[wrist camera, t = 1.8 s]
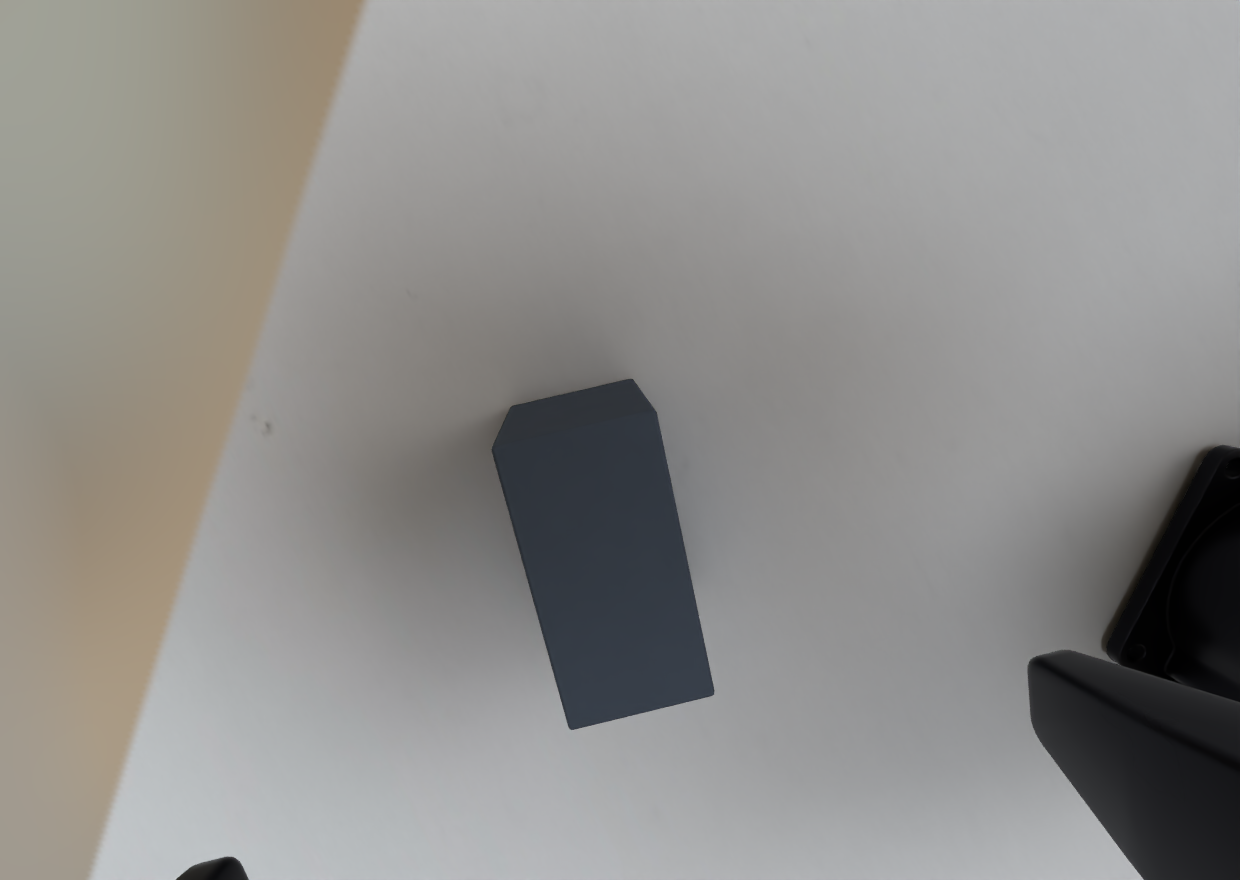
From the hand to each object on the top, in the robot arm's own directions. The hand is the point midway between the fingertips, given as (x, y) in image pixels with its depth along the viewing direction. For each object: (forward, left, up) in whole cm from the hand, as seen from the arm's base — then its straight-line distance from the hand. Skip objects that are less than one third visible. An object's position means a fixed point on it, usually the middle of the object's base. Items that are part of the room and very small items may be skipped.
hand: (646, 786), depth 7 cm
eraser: (0, 0, -9) cm, 9 cm away
